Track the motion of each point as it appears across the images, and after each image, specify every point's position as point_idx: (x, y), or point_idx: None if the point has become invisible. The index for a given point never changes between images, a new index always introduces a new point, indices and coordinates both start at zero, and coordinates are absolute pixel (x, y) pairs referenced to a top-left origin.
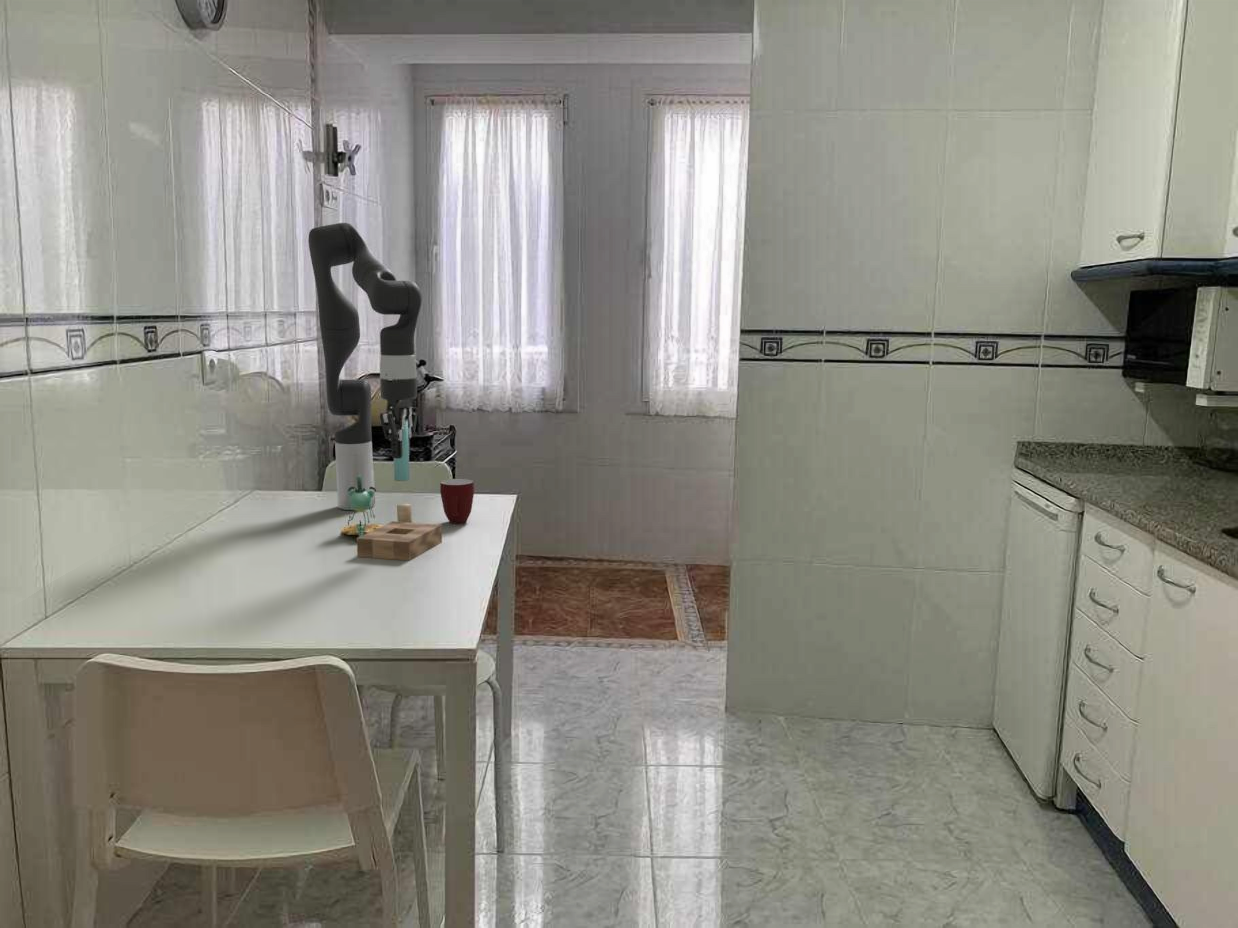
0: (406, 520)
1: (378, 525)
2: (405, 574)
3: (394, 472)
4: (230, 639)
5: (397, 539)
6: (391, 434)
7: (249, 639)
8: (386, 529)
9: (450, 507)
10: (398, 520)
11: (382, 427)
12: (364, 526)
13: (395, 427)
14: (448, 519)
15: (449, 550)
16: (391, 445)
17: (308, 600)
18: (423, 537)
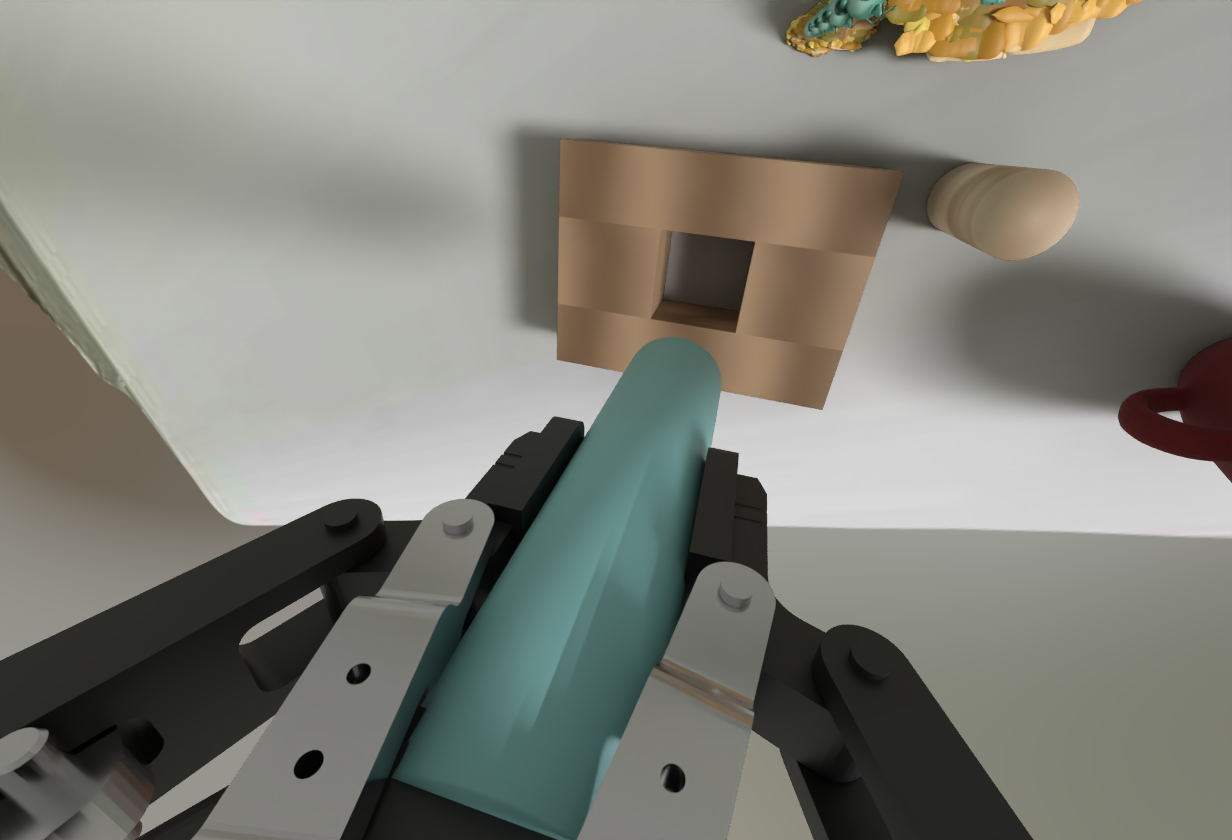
0: (951, 229)
1: (1084, 5)
2: (461, 363)
3: (634, 364)
4: (3, 162)
5: (578, 312)
6: (323, 593)
7: (30, 201)
8: (725, 210)
9: (1219, 390)
10: (965, 182)
11: (148, 590)
12: (875, 12)
13: (269, 706)
14: (1228, 341)
15: None
16: (476, 485)
17: (213, 203)
18: None
